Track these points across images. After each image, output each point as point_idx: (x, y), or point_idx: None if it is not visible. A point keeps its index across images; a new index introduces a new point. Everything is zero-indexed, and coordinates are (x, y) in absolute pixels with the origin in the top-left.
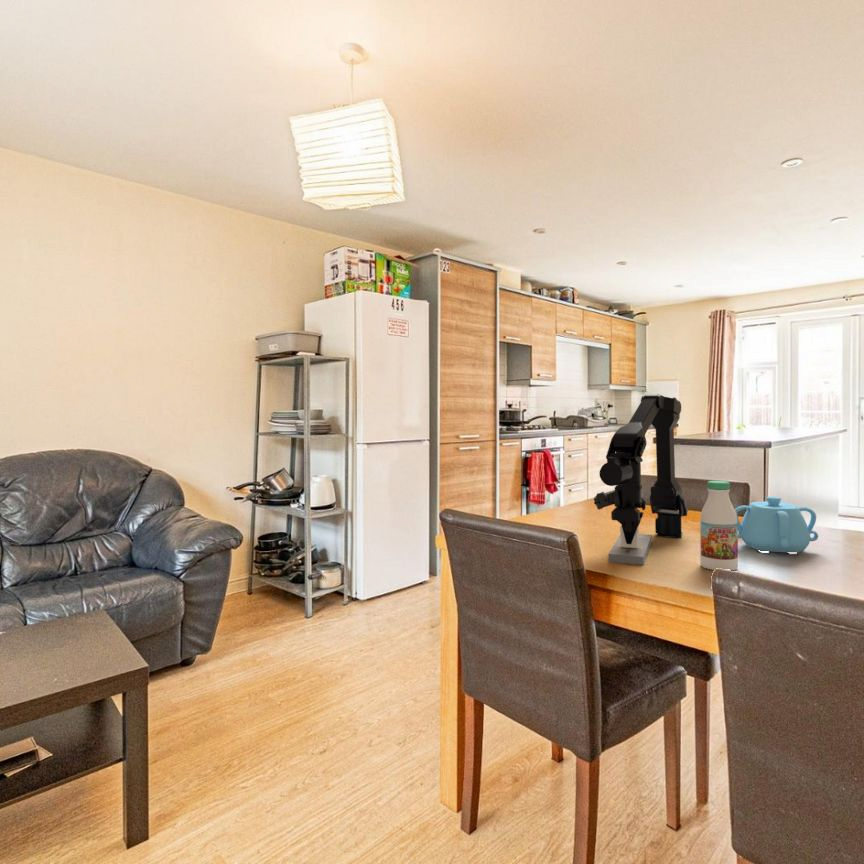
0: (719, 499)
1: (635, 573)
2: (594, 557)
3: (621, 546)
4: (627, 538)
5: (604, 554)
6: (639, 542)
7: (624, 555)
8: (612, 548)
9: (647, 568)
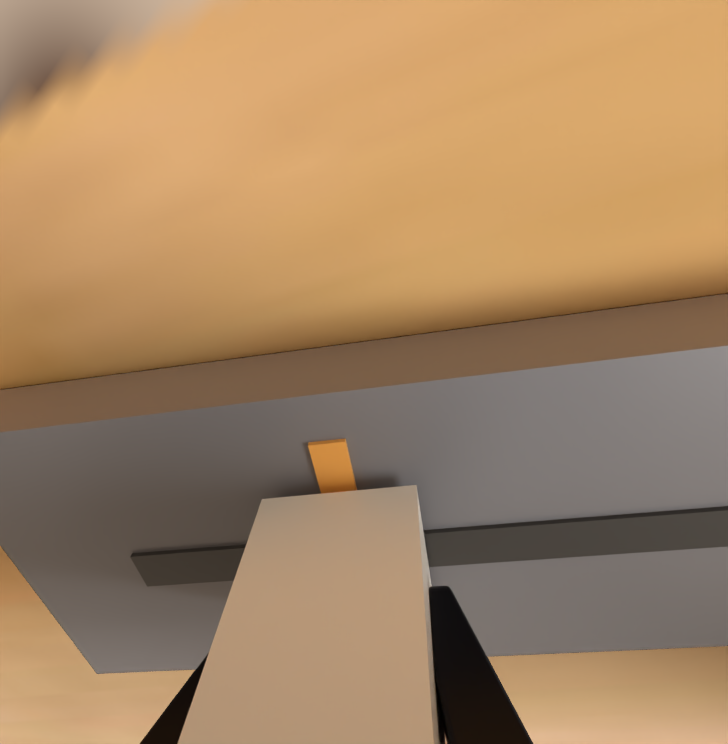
0: None
1: None
2: (31, 197)
3: (263, 511)
4: None
5: (245, 263)
6: (643, 587)
7: (20, 566)
8: (181, 419)
9: None
